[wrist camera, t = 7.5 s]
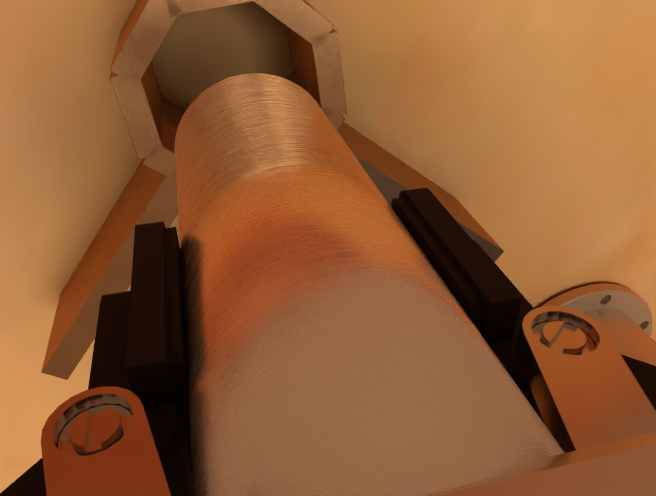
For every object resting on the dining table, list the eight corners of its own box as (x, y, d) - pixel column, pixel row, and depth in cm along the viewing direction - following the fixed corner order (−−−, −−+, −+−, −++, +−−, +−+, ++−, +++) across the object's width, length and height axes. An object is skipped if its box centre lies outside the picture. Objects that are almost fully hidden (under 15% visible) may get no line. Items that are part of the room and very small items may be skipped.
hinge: (496, 149, 33) (554, 197, 28) (298, 380, 39) (317, 451, 34) (187, -92, 23) (195, -83, 18) (-10, 269, 29) (-44, 347, 24)
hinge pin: (361, 130, 16) (826, 706, 5) (273, 243, 18) (481, 901, 6) (232, 38, 14) (538, 699, 3) (143, 175, 15) (100, 1000, 4)
